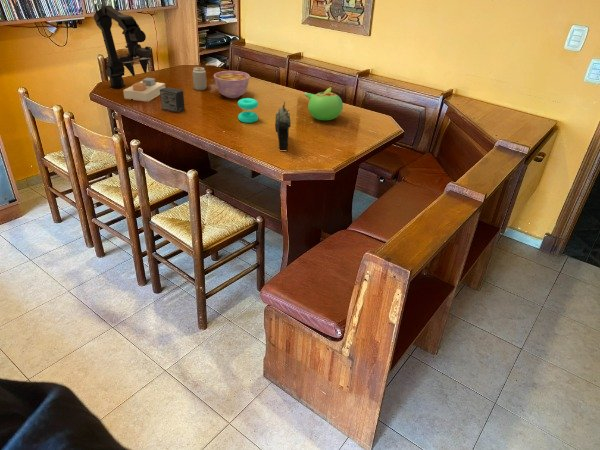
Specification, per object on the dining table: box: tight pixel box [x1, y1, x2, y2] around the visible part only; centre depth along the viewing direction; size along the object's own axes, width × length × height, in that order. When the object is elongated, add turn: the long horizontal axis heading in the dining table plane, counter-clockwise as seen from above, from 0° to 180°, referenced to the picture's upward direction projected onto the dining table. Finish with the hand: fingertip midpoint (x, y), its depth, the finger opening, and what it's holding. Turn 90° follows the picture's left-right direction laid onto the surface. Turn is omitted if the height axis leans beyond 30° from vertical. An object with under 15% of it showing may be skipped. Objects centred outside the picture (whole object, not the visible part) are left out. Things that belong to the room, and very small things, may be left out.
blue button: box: [141, 77, 156, 86], centre depth 251 cm, size 5×5×4 cm
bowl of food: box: [213, 70, 251, 99], centre depth 253 cm, size 20×20×12 cm
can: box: [192, 66, 208, 91], centre depth 261 cm, size 8×8×12 cm
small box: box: [159, 86, 186, 114], centre depth 230 cm, size 11×6×10 cm, turn 65°
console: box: [122, 80, 166, 102], centre depth 249 cm, size 14×20×4 cm
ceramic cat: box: [274, 101, 292, 151], centre depth 197 cm, size 20×6×20 cm, turn 5°
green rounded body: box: [303, 86, 344, 121], centre depth 229 cm, size 18×17×15 cm
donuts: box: [237, 97, 259, 124], centre depth 223 cm, size 10×10×10 cm
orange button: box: [132, 81, 146, 91], centre depth 243 cm, size 5×5×4 cm
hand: (139, 74), depth 237 cm, fingers open, 9 cm apart
